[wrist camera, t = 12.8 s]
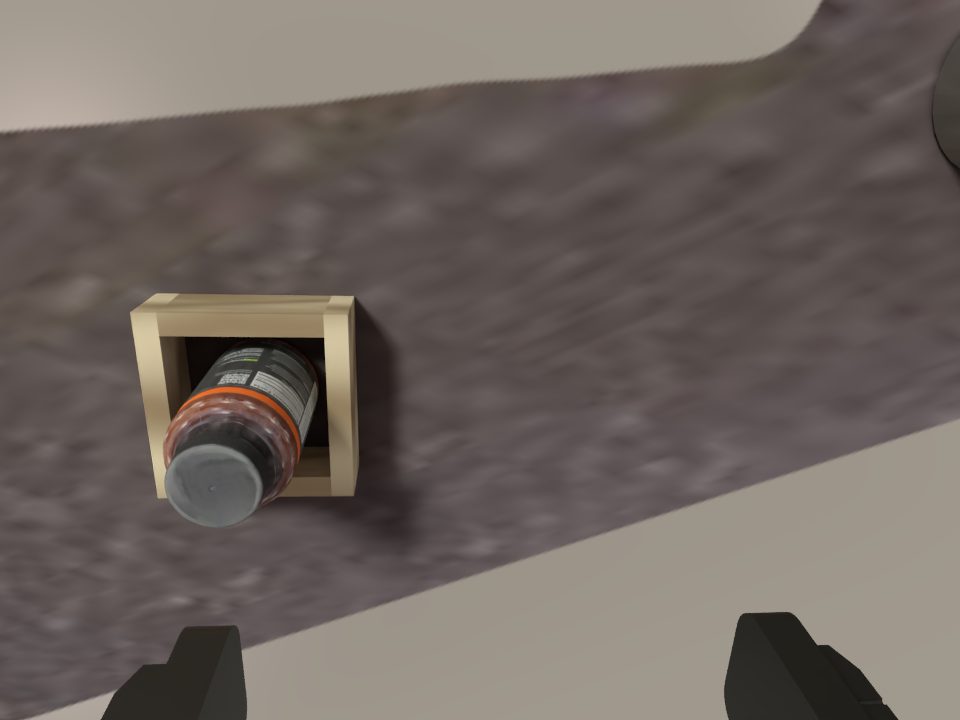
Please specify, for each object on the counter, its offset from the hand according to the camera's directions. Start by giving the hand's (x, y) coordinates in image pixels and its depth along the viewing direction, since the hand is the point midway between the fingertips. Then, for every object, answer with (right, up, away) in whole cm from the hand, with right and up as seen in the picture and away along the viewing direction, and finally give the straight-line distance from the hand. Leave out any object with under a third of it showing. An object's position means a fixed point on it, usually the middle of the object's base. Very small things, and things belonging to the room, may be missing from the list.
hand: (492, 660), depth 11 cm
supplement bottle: (-12, +4, +28) cm, 31 cm away
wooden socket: (-12, +3, +28) cm, 31 cm away
